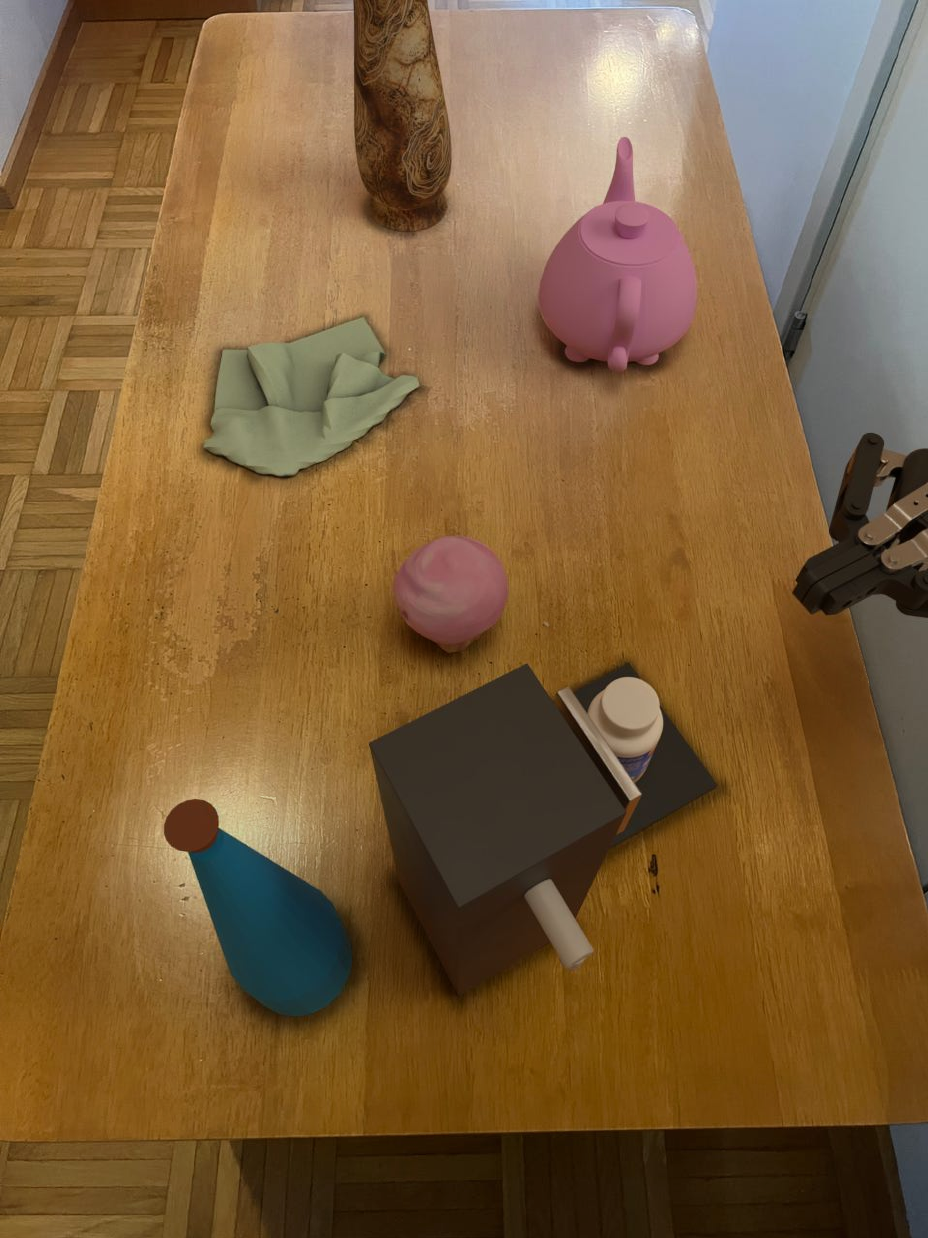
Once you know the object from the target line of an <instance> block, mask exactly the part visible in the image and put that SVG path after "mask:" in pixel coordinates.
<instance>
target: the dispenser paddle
mask: <svg viewBox="0 0 928 1238" xmlns="http://www.w3.org/2000/svg"><path fill="white" fill-rule="evenodd" d="M573 692H574V691H573V690H572V689H571V687H569V686H566V687H564V688H562V689H559V690H558V691H556V692H555V697H554V701H555V702H554V701H553V702H554V704H555V705H556V707H557V708H558V710H559V711H560V713H561V714H562V716H563V717H564V719H565V720H566V722H567V723H568V725H569V726H570V728H571V729H572V731H573V732H574V734H575V735H576V737H577V738H578V740H579V741H580V743H581V744H582V746H583V747H584V749H585V750H586V752H587V753H588V755H589V756H590V758H591V759H592V761H593V762H594V764H595V765H596V767H597V768H598V770H599V771H600V773H601V774H602V776H603V777H604V779H605V780H606V782H607V783H608V785H609V786H610V788H611V789H612V791H613V792H614V794H615V795H616V797H617V798H618V800H619V801H620V803H621V804H622V806H623V807H624V809H625V810H626V812H627V813H626V815H625V817H624V819H623V821H622V823H621V825H620V827H619V829H618V831H617V834H619V833H621V832H622V831H624V829H625V827H626V825H627V823H628V821H629V819H630V817H631V815H632V813H633V811H634V809H635V807H636V805H637V803H638V801H639V799H640V797H641V795H642V793H641V792H640V790H639V789H638V787H637V786H636V784H635V783H634V782H633V780H632V779H631V777H630V776H629V774H628V773H627V771H626V770H625V768H624V767H623V765H622V764H621V762H620V761H619V760H618V758H617V757H616V755H615V754H614V752H613V751H612V749H611V748H610V746H609V745H608V743H607V742H606V740H605V739H604V738H603V736H602V735H601V733H600V732H599V730H598V729H597V727H596V726H595V724H594V723H593V721H592V720H591V718H590V717H589V716H588V714H587V713H586V711H585V710H584V708H583V707H582V705H581V704H580V702H579V701H578V699H577V698H576V696H575V695H574V693H573ZM617 834H616V835H617Z"/></svg>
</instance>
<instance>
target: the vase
mask: <svg viewBox="0 0 928 1238" xmlns="http://www.w3.org/2000/svg"><path fill="white" fill-rule="evenodd" d="M352 1H353V4H352V5H353V137H354V149H355V157H356V164H357V168H358V172H359V177H360V179H361V182H362V184H363V187H364V188H365V190H366V192H367V193H368V194H369V196H370V197H371V200H370V203H369V210H370V215H371V216H372V218H373V220H374V221H376V222H377V223H378V224H379V225H381V226H382V227H385V228H387V229H391V230H394V231H399V232H414V231H421V230H426V229H428V228H430V227H432V226H434V225H436V224H438V222H440V221H441V219H442V218H443V217H444V216H445V215H446V212H448V211H447V210H448V205H449V204H448V198H447V196H446V195H445V193H444V191H445V190H446V188H447V186H448V184H449V180H450V178H451V172H452V161H453V155H452V154H453V152H452V151H453V150H452V136H451V127H450V120H449V114H448V109H447V104H446V98H445V92H444V86H443V81H442V76H441V70H440V65H439V59H438V55H437V49H436V44H435V38H434V31H433V27H432V20H431V15H430V10H429V9H430V8H429V2H428V0H352Z"/></svg>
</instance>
